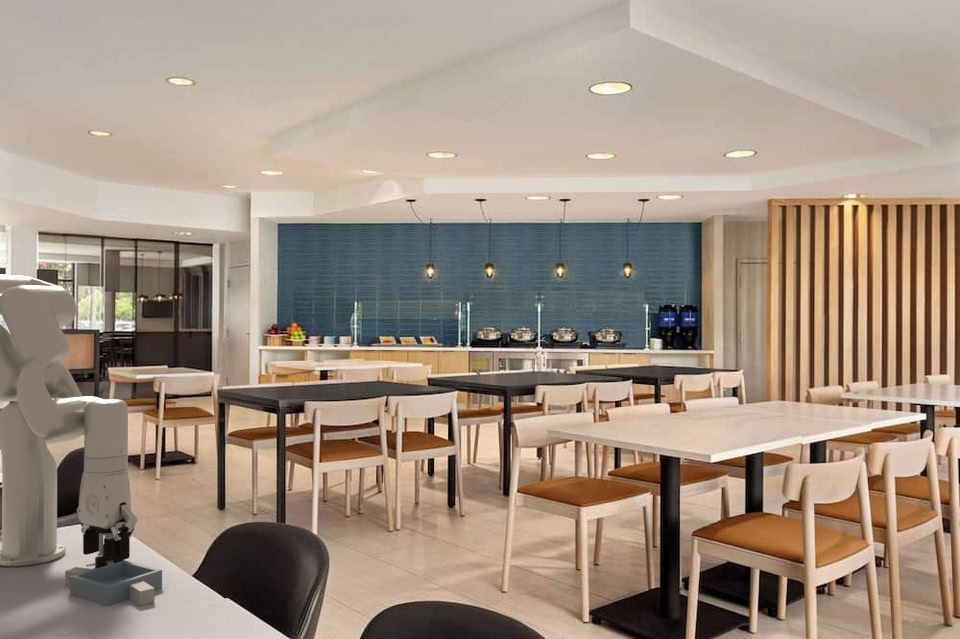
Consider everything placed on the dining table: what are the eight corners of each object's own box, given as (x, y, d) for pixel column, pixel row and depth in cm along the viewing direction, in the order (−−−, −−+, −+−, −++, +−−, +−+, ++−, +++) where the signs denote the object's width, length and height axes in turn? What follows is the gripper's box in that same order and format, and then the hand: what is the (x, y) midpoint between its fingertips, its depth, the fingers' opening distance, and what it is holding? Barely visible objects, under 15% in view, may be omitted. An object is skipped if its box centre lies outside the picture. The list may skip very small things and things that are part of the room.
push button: (88, 577, 145) (89, 523, 145) (83, 569, 149) (83, 517, 149) (127, 570, 149) (127, 518, 149) (121, 563, 153) (121, 512, 153)
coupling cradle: (49, 588, 139) (49, 570, 139) (104, 571, 148) (104, 555, 148) (127, 611, 128) (127, 592, 128) (181, 592, 137) (181, 574, 137)
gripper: (60, 463, 150) (60, 554, 150) (117, 472, 141) (116, 569, 141) (96, 457, 157) (96, 545, 157) (153, 465, 148) (153, 558, 148)
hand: (106, 556), depth 149 cm, fingers open, 8 cm apart
